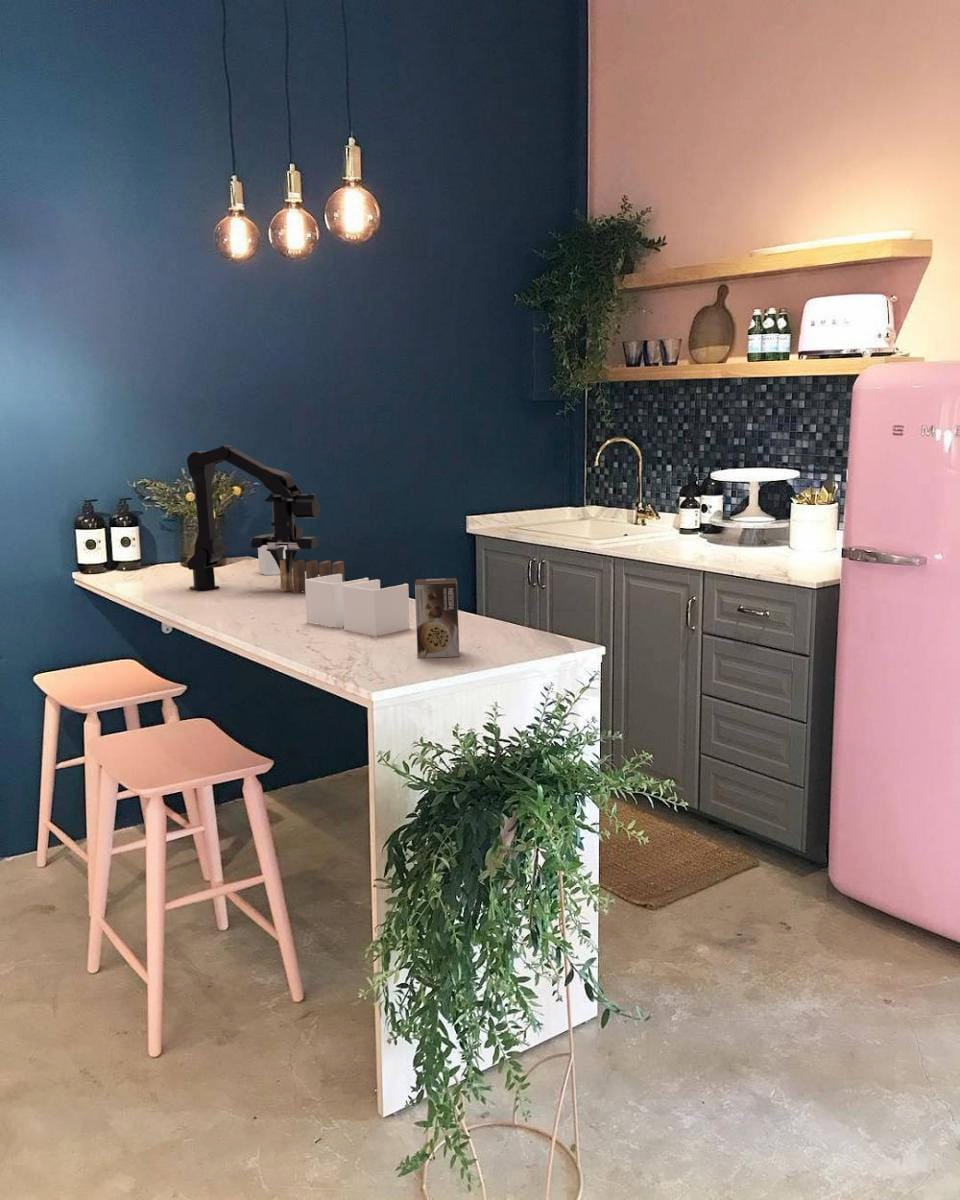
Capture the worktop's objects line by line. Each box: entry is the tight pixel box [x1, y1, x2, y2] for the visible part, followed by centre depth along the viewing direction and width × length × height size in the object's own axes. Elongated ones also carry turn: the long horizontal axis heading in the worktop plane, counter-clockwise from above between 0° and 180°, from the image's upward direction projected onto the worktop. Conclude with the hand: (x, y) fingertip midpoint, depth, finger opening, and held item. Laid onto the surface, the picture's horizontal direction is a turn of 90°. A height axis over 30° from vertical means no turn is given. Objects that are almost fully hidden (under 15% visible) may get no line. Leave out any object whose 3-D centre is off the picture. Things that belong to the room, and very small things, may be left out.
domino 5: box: [331, 560, 346, 582], centre depth 315 cm, size 2×5×9 cm, turn 165°
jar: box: [257, 533, 288, 576], centre depth 352 cm, size 9×8×12 cm
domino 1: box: [279, 558, 294, 592], centre depth 320 cm, size 2×5×9 cm, turn 165°
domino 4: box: [318, 560, 332, 577], centre depth 316 cm, size 2×5×9 cm, turn 165°
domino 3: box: [305, 559, 319, 580], centre depth 317 cm, size 2×5×9 cm, turn 165°
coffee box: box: [414, 577, 460, 659], centre depth 239 cm, size 9×6×16 cm
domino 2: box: [292, 559, 306, 594], centre depth 318 cm, size 2×5×9 cm, turn 165°
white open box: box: [304, 574, 411, 637], centre depth 271 cm, size 25×11×11 cm, turn 48°
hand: (285, 572), depth 319 cm, fingers closed on domino 1, 2 cm apart
